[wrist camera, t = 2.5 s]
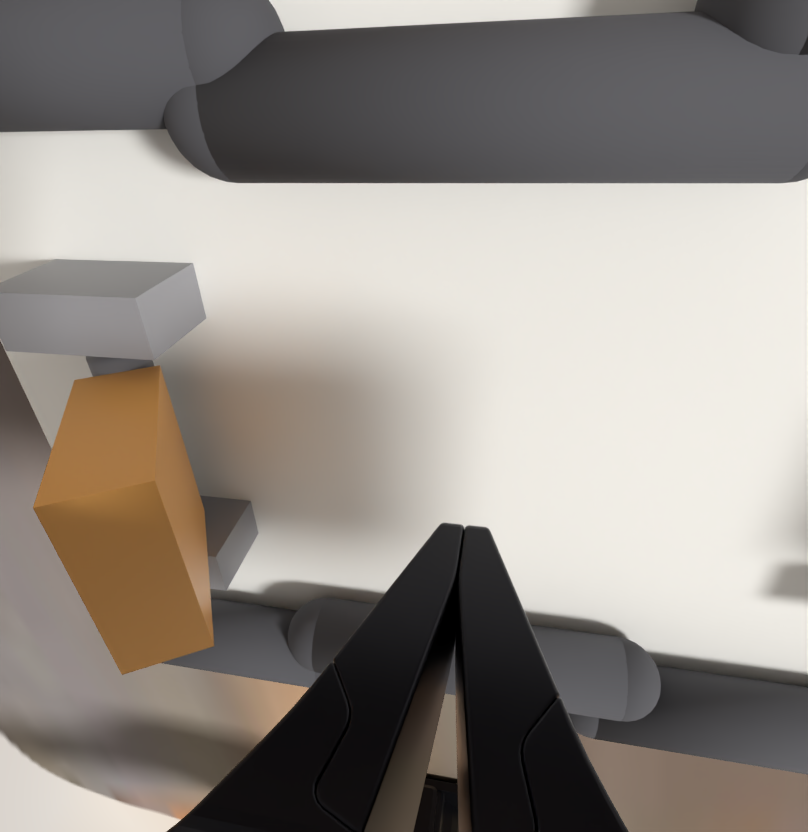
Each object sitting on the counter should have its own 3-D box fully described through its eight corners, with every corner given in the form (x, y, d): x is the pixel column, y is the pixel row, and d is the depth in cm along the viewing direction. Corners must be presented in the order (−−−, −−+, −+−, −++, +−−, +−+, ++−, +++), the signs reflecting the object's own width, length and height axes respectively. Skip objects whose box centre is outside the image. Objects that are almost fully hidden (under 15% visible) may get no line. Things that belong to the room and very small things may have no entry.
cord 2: (931, 735, 15) (983, 820, 13) (143, 616, 19) (105, 670, 17) (994, 669, 13) (1062, 757, 11) (115, 554, 17) (71, 607, 15)
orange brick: (204, 486, 14) (216, 652, 10) (139, 501, 14) (125, 680, 10) (158, 334, 12) (150, 469, 8) (79, 346, 12) (27, 497, 7)
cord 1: (1467, 168, 7) (1758, 200, 5) (-59, 173, 11) (-161, 193, 9) (1775, -159, 5) (2330, -258, 4) (-143, -15, 9) (-286, -32, 8)
